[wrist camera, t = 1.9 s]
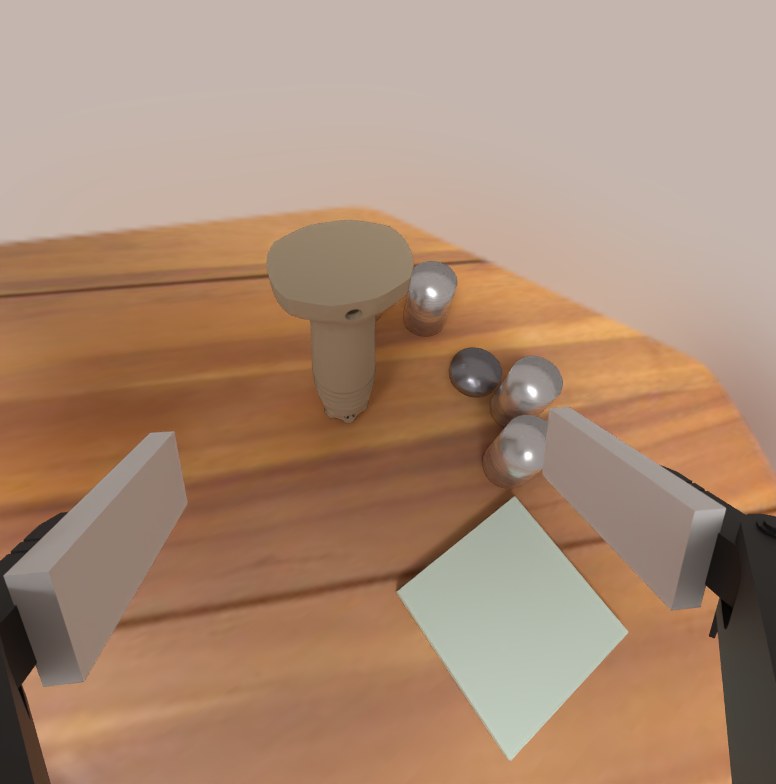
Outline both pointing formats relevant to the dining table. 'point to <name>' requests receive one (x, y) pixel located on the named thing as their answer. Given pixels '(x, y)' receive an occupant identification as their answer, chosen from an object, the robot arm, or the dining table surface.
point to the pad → (511, 623)
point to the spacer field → (512, 399)
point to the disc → (475, 372)
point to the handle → (341, 300)
